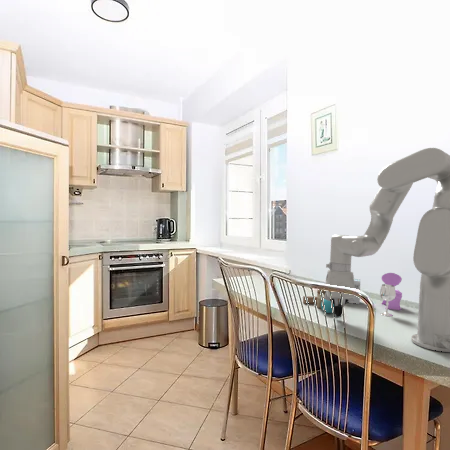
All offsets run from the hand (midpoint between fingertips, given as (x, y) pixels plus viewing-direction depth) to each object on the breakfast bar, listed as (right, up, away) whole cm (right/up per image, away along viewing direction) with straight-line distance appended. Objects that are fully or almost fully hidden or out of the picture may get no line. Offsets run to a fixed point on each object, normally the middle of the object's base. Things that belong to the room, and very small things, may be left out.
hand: (337, 315), depth 126 cm
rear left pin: (-2, -1, +16) cm, 17 cm away
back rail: (0, -1, +23) cm, 23 cm away
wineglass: (+23, -2, +10) cm, 25 cm away
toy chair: (+31, -3, +23) cm, 39 cm away
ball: (-1, +2, +9) cm, 9 cm away
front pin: (0, -1, +12) cm, 12 cm away
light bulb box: (+15, -2, +30) cm, 33 cm away
